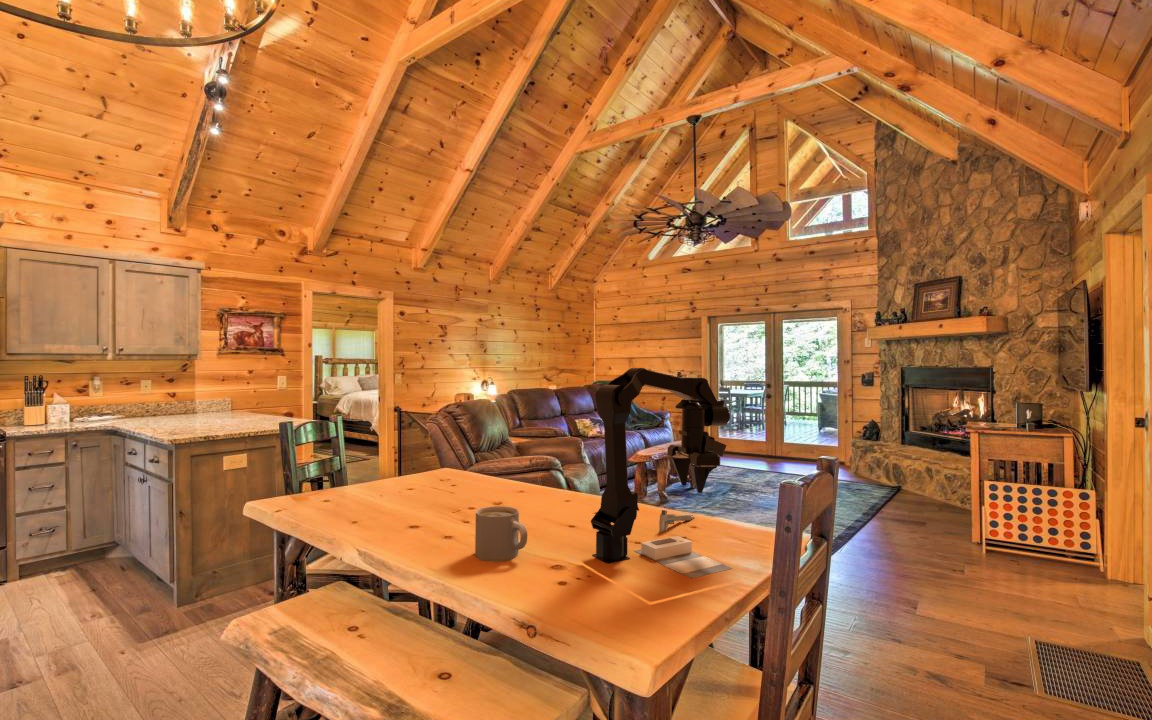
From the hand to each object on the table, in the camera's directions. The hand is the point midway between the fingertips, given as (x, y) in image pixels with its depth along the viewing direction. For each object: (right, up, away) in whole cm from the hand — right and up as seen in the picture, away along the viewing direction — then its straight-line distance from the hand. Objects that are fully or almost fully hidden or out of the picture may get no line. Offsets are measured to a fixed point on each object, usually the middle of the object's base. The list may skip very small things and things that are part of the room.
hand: (691, 489), depth 143 cm
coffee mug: (-46, -13, -12) cm, 50 cm away
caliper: (-1, -14, +15) cm, 20 cm away
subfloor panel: (-5, -13, -15) cm, 20 cm away
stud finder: (-8, -13, -10) cm, 18 cm away
